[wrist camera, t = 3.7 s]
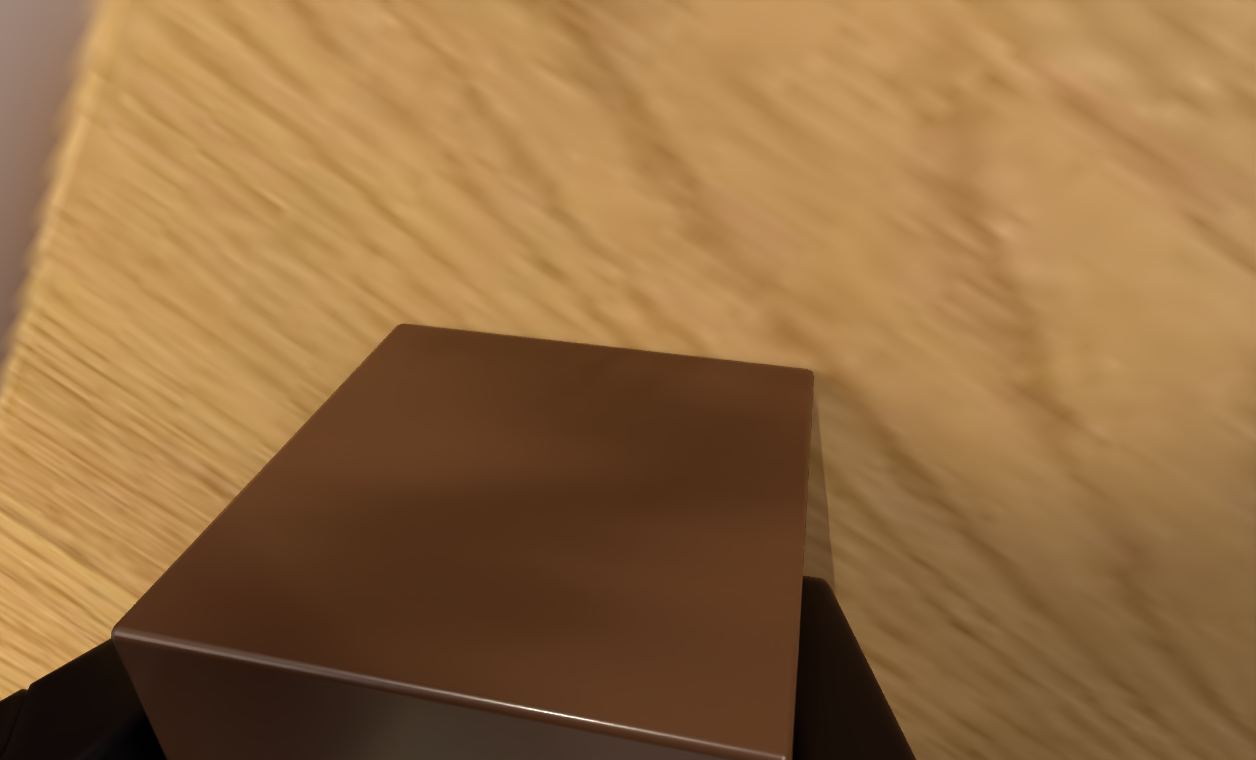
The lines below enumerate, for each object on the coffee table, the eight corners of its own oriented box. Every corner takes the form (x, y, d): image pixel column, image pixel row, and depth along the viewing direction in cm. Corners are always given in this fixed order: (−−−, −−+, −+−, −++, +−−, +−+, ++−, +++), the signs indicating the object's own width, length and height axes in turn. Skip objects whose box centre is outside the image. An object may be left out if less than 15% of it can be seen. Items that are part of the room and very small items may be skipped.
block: (815, 367, 9) (793, 765, 5) (772, 667, 11) (734, 1091, 7) (398, 320, 9) (103, 631, 6) (442, 610, 12) (254, 964, 8)
